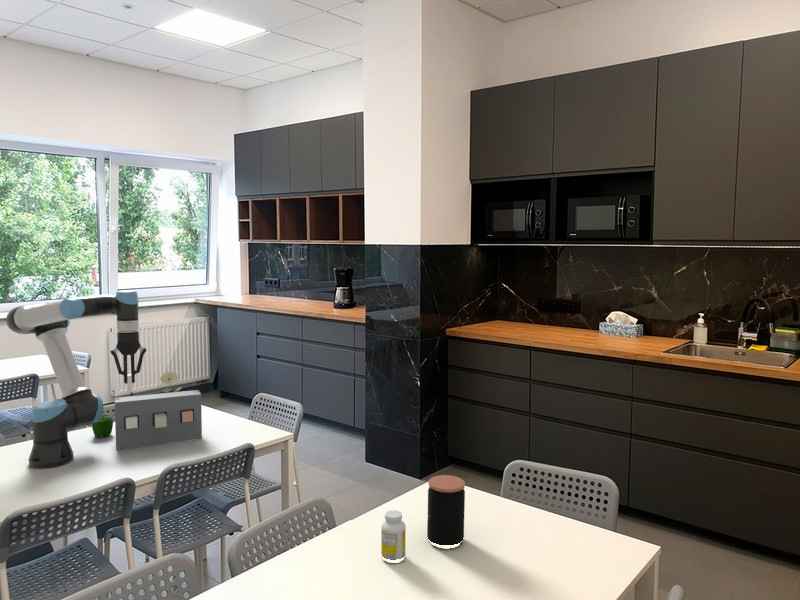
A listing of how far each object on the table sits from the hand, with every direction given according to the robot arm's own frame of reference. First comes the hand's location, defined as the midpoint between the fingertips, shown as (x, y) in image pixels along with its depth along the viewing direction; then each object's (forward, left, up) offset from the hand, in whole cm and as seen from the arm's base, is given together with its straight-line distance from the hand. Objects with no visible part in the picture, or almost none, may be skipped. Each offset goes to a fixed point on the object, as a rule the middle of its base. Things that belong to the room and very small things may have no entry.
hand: (129, 391), depth 230 cm
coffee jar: (+79, -106, -29) cm, 135 cm away
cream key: (+1, +20, -20) cm, 28 cm away
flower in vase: (+21, +47, -29) cm, 59 cm away
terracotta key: (+23, +20, -20) cm, 36 cm away
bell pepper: (-10, +40, -29) cm, 50 cm away
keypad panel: (+12, +22, -28) cm, 38 cm away
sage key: (+12, +17, -20) cm, 28 cm away
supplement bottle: (+61, -108, -29) cm, 127 cm away
